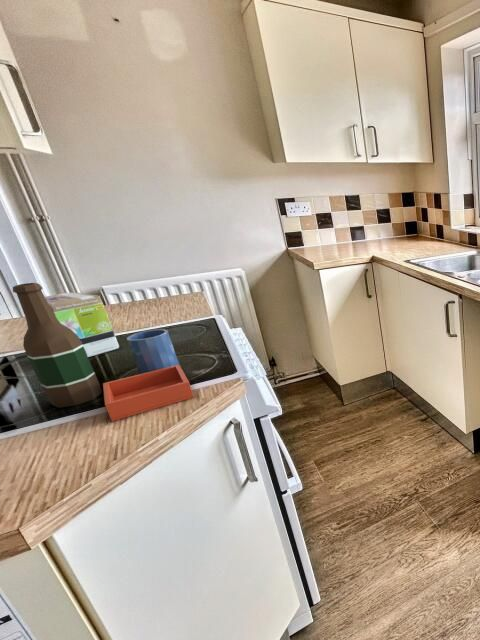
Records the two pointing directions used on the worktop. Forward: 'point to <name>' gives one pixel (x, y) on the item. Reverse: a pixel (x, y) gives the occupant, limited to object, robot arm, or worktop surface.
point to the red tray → (146, 392)
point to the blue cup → (152, 350)
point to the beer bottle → (55, 352)
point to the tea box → (85, 320)
